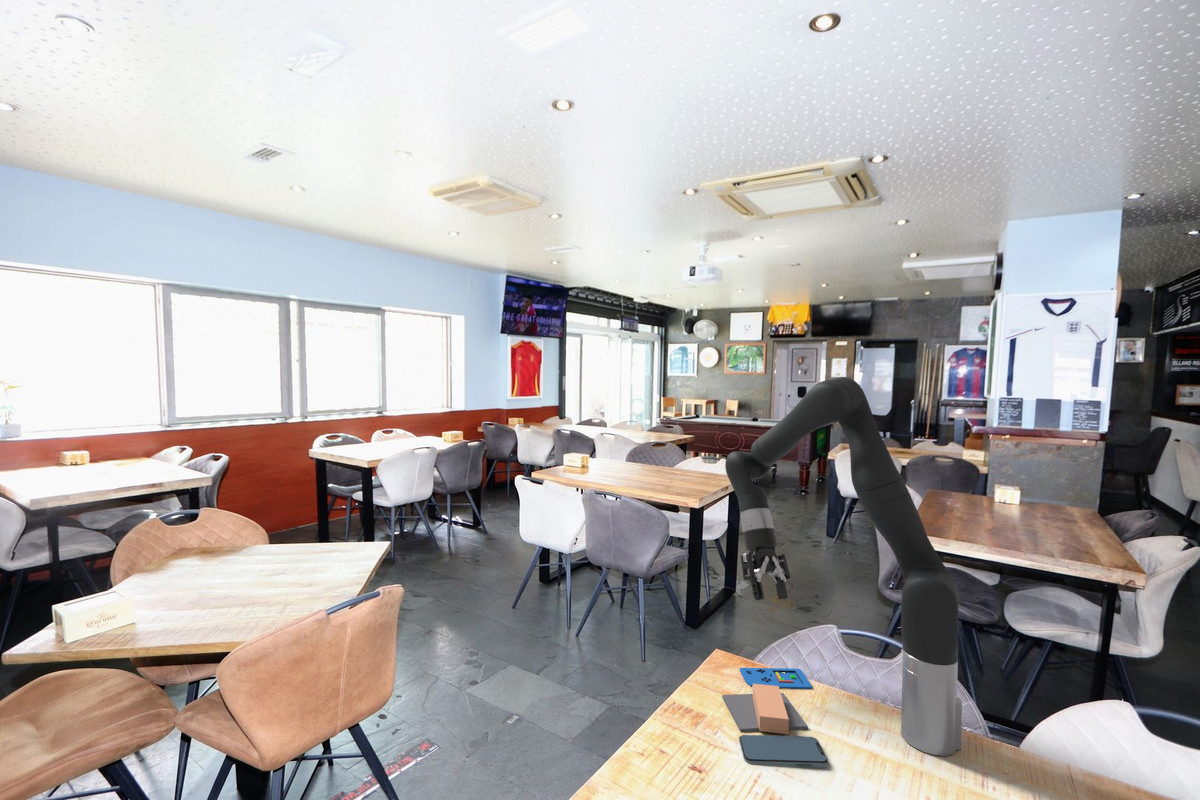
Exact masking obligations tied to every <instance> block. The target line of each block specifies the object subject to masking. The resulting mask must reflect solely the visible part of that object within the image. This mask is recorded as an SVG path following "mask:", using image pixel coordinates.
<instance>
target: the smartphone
mask: <svg viewBox="0 0 1200 800" xmlns="http://www.w3.org/2000/svg"><path fill="white" fill-rule="evenodd" d="M738 738H739V739H738V740H739V745H740V750H741V753H742V756H743V760H744V762H746V764H750V765H762V766H763V765H765V766H776V767H777V766H778V767H780V766H781V767H794V768H814V769H815V768H818V769H824V768H827V767H828V766H829V759H828V757H827V756H826V754H825V752H824V750H823V748H822V746H821V744H820V742H819V740H818V739H817V738H816V737H814V736H804V735H803V736H797V735H795V736H794V735H763V734H762V735H761V734H760V735H759V734H758V735H757V734H756V735H755V734H742V735H740V736H739V737H738Z"/></svg>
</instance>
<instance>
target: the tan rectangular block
mask: <svg viewBox="0 0 1200 800" xmlns="http://www.w3.org/2000/svg"><path fill="white" fill-rule="evenodd" d="M781 693H782V692H781V690H780V689H779V686H771V685H761V684H753V687H752V694H753V701H754V706H755V711H756V716H757V721H758V726H759V731H758V732H765V733H766V732H767V733H773V734H783V735H784V734H785V735H789V730H788V726H789V719H788V716H787V712H786V709H785V706H784V702H783V699H782V696H781Z"/></svg>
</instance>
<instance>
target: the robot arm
mask: <svg viewBox="0 0 1200 800" xmlns="http://www.w3.org/2000/svg"><path fill="white" fill-rule="evenodd" d="M836 423H838V424H839V426H840V427H841V430H842V432H843V433H844V436H845V438H846V441H847V445H848V448H849V456H850V477H851V481H852V486H853V488H854V491H855V493H856V496H857V497H858V500H859V501H860V502H859V503H860V504H861V506H862V508H863V511H864V512H865V514H866V515H867V517H868V518H869V520H870V522H871V523H872V524H873V526H874V528H875V529H876V530H877V531H878V532H879V534H880V535H881V536H882V537H883V539H884V540H885V541H886V543H887V544H888V546H889V547H890V549H891V551H892V553H893V554H894V556H895V559H896V562H897V563H898V566H899V569H900V571H901V574H902V577H903V580H904V586H903V588H902V592H901V603H900V604H901V608H900V609H901V617H900V618H901V621H900V622H901V624H900V625H901V627H900V628H901V629H900V630H901V640H902V655H901V656H902V660H901V662H902V663H901V664H902V666H901V717H900V718H901V719H900V721H901V722H900V733H901V737H902V738H903V740H905V742H906V743H908V744H909V745H910V746H912V747H913V748H915V749H917V750H919V751H922V752H924V753H926V754H930V755H933V756H938V757H939V756H941V757H943V756H944V757H946V756H947V757H948V756H950V755H954V753H955V752H956V751H957V750H958V751H959V750H962V732H963V731H962V727H963V726H962V725H963V724H962V720H963V717H962V716H963V701H962V699H961V698H960V697H959V696H958V673H959V671H958V667H959V666H958V662H959V640H958V639H959V607H960V606H959V604H960V590H959V587H958V585H957V582H956V581H955V580H954V578H953V576H952V575H951V574H950V572H949V570H948V568H947V567H946V566H945V564H944V563H943V561H942V559H941V558H940V556H939V554H938V553H937V551H936V549H935V548H934V546H933V545H932V542H931V540H930V538H929V537H928V534H927V531H926V529H925V526H924V524H923V521H922V519H921V517H920V514H919V511H918V509H917V507H916V504H915V502H914V500H913V498H912V495H911V493H910V492H909V489H908V487H907V485H906V483H905V481H904V479H903V477H902V475H901V473H900V471H899V470H898V468H897V466H896V464H895V461H894V460H893V458H892V456H891V454H890V451H889V449H888V447H887V445H886V443H885V441H884V440H883V437H882V435H881V433H880V431H879V428H878V426H877V423H876V421H875V418H874V415H873V413H872V409H871V406H870V404H869V401H868V399H867V396H866V393H865V391H864V390H863V388H862V387H861V385H860V384H859V383H858V382H857V381H856V380H854V379H852V378H851V377H846V376H840V377H835V378H830V379H826V380H822V381H819V382H818V383H816V384H814V385H812V387H811V389H809V390H808V391H807V392H806V393H805V395H803V397H802V398H801V399H800V400H799V402H798V403H797V404H796V405H795V406H794V407H793V408H792V409H791V411H790V412H788V414H786V416H785V417H783V418H782V419H781V420H780V421H779V422H778V423H776V424H775V425H774V426H772V427H771V428H770V429H769V430H767V431H766V432H765V433H763V434H762V435H760V436H759V437H758V438H757V439H755V441H754V442H753V443H752V444H751V448H750V451H740V450H737V451H736V450H735V451H731V452H730V453H729V454H727V456H726V460H725V465H724V466H725V472H726V475H727V478H728V479H729V482H730V484H731V486H732V489H733V490H734V493H735V495H736V498H737V502H738V506H739V513H740V523H741V525H740V526H741V528H742V529H741V530H742V536H743V541H744V546H745V549H746V551H747V552H745V553H741V554H740V563H741V570H742V577H743V581H748V582H749V583H750V584H751V588H752V589H751V590H752V595H753V597H754V601H763V600H764V599H765V596H764V590H763V584H762V582H761V581H762V577H763V575H764V574H768V576H770V577H771V578H772V579H773V580H774V582H775V583H774V585H775V588H776V594H777V599H778V600H779V601H780V600H787V599H788V592H787V586H786V582H787V580H790V579H791V574H790V569H789V565H788V562H787V558H786V554H785V553H780V554H777V553H776V550H775V549H777V547H778V542H777V541H778V540H777V536H776V532H775V531H776V530H775V525H774V521H773V517H772V514H771V512H770V507H769V503H768V498H767V492H766V491H765V489H764V488H763V487H761V486H758V485H756V484H754V483H753V481H754V480H760V479H762V478H764V477H765V476H766V475H767V474H768V473H769V472H770V470H771V469H772V467H773V466H774V464H775V463H776V462H778V461H779V460H780V459H782V458H784V457H785V456H786V455H788V454H789V453H790V452H791V451H793V450H794V449H795V448H796V446H797V445H798V444H799V443H800V442H801V440H803V438H805V437H806V436H807V435H809V434H810V433H811V432H813V431H815V430H818V429H820V428H822V427H825V426H827V425H829V424H836ZM752 480H753V481H752ZM783 570H784V574H783ZM748 572H749V573H748Z"/></svg>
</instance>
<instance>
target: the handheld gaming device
mask: <svg viewBox="0 0 1200 800" xmlns="http://www.w3.org/2000/svg"><path fill="white" fill-rule="evenodd" d="M739 672H740V675H741V677H742V676H743V677H742V678H744V679H743V681H744V680H745V681H744V682H746V683H747V684H748V685H747V684H746V683H745V684H746V685H747V686H749V685H750V686H749V687H751V686H753V684H761V685H771V686H779V688H790V689H789V690H812V689H813V685H812V684H811V682H810V680H809V679H808V677H807V676H806V675H805V674H804V672H803V670H802V669H801V668H783V667H739ZM782 672H785V674H784V673H782Z"/></svg>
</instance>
